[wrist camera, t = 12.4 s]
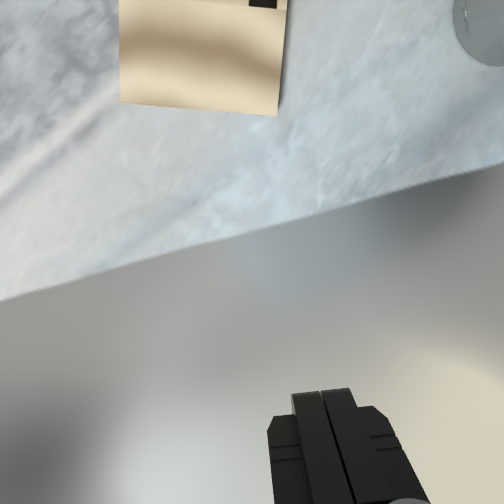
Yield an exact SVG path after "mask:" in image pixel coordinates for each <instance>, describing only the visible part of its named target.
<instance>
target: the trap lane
mask: <svg viewBox="0 0 504 504" xmlns="http://www.w3.org/2000/svg"><path fill="white" fill-rule="evenodd" d="M286 10H287V0H119V74H120V103H125V104H137V105H149V106H161V107H174V108H186V109H198V110H210V111H223V112H235V113H247V114H259V115H271V116H277V110H278V99H279V88H280V77H281V66H282V55H283V44H284V33H285V22H286Z"/></svg>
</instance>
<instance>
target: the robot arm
mask: <svg viewBox="0 0 504 504" xmlns="http://www.w3.org/2000/svg"><path fill="white" fill-rule="evenodd" d="M453 20H454V27H455V31H456V35H457V37H458V39H459V41H460V43H461V45H462V47H463V48H464V49H465V50H466V51H467V52H468V54H469V55H471V56H472V57H473V58H475V59H476V60H478V61H480V62H482V63H485V64H487V65H493V66H504V0H454V7H453ZM291 402H292V414H291V415H283V416H274V417H273V419H272V422H271V424H270V426H269V428H268V430H267V434H268V435H267V436H268V445H269V455H270V464H271V474H272V484H273V494H274V503H275V504H431V503H430V501H429V500H428V498H427V496H426V494H425V492H424V490H423V488H422V486H421V484H420V482H419V480H418V478H417V476H416V474H415V472H414V470H413V468H412V466H411V464H410V462H409V460H408V458H407V456H406V454H405V452H404V450H402V446H401V444H400V442H399V440H398V438H397V437H396V436H395V432H394V430H393V428H392V426H391V424H390V422H389V420H388V418H387V417H385V416H384V415H383V414H382V413H381V412H379V411H378V410H377V409H376V408H375V407H374V406H366V407H357V405H356V403H355V400H354V398H353V396H352V393H351V391H350V389H349V388H341V389H332V390H323V391H321V392H319V391H314V392H305V393H296V394H291Z"/></svg>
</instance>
